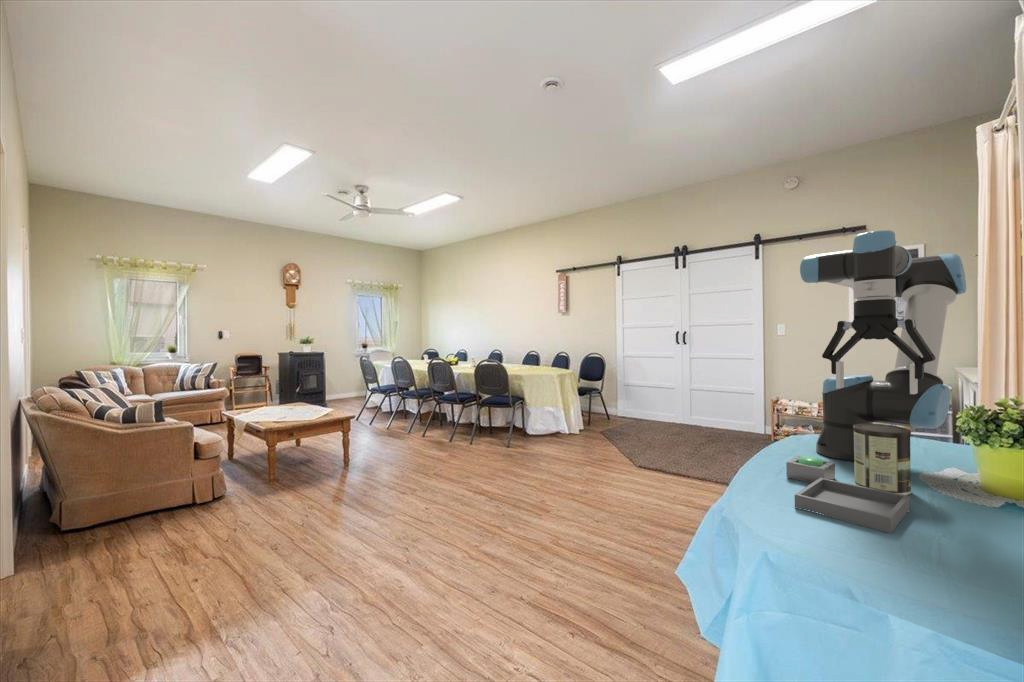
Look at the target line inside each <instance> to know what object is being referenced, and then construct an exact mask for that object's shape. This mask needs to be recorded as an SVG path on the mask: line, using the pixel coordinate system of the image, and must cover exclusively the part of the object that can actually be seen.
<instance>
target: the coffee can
mask: <svg viewBox="0 0 1024 682" xmlns="http://www.w3.org/2000/svg"><path fill="white" fill-rule="evenodd" d="M853 429H854V461H853V462H854V465H853V467H854V469H853V470H854V483H853V485H858V486H863V487H867V488H872V489H877V490H882V491H886V492H891V493H896V494H901V495H905V496H910V495H911V494H912V488H911V487H912V483H911V482H912V481H911V480H912V479H911V477H912V476H911V475H912V473H911V472H912V471H911V469H912V467H911V435H912V431H911V430H910V429H909V428H906V427H904V426H902V427H901V426H899V425H892V424H884V423H873V424H856V425H853Z"/></svg>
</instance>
